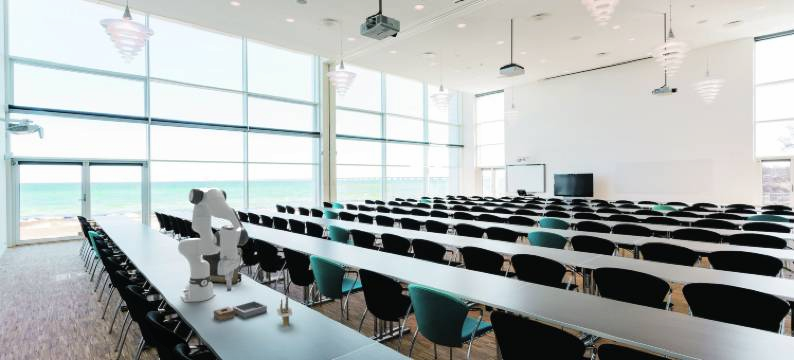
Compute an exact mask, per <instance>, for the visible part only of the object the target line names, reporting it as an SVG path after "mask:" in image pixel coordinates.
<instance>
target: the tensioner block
mask: <svg viewBox="0 0 794 360" xmlns="http://www.w3.org/2000/svg"><path fill="white" fill-rule="evenodd" d="M235 316H236V314H235V310H234V309H233V307H232V308H231V307H229V306H226V307H221V308H219V309H215V310H213V318H214V319H216V320H218V321H219V322H222V321H226V320H229V319H233V318H236V317H235Z"/></svg>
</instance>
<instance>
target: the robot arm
mask: <svg viewBox="0 0 794 360" xmlns="http://www.w3.org/2000/svg"><path fill="white" fill-rule="evenodd" d="M227 197H228V196H227V193H226V191H225V190H224V189H223V190H222V189H220V188H218V187H209V188H207V187H202V188H201V187H200V188H199V187H194V188H192V189H191V190H190V191H189V193H188V199H189V202H190V203H191V204H193V205H194V206H193V211H192V219H191V220H192V221H191V230H192V231H193V232H196V233H198V234H199V237H193V238H191V237H190V238H189V237H188V238H186V239H181V240H180V242H179V243H178V246H177V249H178V253H180V255H182V256H183V257H184V258H185V259H186V261H187V262H188V264H189V271H190V277H189V280H188V282H189V283H188V284H187V285H186V286H185V288H184V289H183V291H182V292H183V294H181V296H180V298H181V299H182V300H183V301H184V303H188V302H189V303H190V302H192V303H193V302H203V301H208V300H211V299H212V298H213V297H214V296H216V292H214V285H213V282H210V281H211V276H210V265H209V263H208V262H207V261H205V260H203V259H202V255H213V254H217V253H218V252H219V251H220V258H221V260H220V261H219V263H218V275H225V280H229V279H230V277H229V274H231V278H233V272H234V269H236V268H238V269H239V267H240V266H241V263H240V254H241V251H238V250H237V248H238V246H244V245H245V244H246V243H247V242H248V241H249V234H248V231H247V230H246V228H245V227H244V225H243V223H242V221H241V219H240V217H239V215H238V214H237V211H235V209H234V208H232V207H231V206H229V204H228V203H227ZM212 216H213V217H214V218H218V219H221V220H222V219H223V220H227V221H229V222H230V223H231V225H230V224H229V225H228V224H227V225H223V226H222V227H220V230H217V231H216V232H215V233H213V230H212Z"/></svg>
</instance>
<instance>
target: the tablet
mask: <svg viewBox="0 0 794 360" xmlns="http://www.w3.org/2000/svg"><path fill="white" fill-rule="evenodd" d="M237 250H238V251H241V254H240V264H241V261H242V257H243V250H242V248H241V247H237ZM201 257H202V259H203V260H205V261H207V262H208V263H209V265H210V276H211V281H210V282H212V283H213V282H214V283H223V284H225V283H226V284H227V280H225V275H218V263H219V261H220V260H221V258H220V251H219V252H218V253H217V254H213V255H201ZM238 281H240V282H241V281H242V273H241V272H239V267H238V268H236V269H234V272H233V278H231V285H233V284H237V283H238Z"/></svg>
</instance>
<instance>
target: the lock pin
mask: <svg viewBox="0 0 794 360" xmlns="http://www.w3.org/2000/svg"><path fill="white" fill-rule="evenodd" d="M229 277H230V279H229V280H227V283H226V292H232V284H231V274H229Z"/></svg>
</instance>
